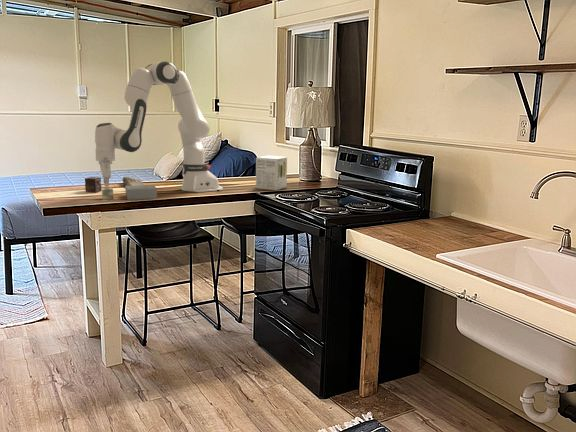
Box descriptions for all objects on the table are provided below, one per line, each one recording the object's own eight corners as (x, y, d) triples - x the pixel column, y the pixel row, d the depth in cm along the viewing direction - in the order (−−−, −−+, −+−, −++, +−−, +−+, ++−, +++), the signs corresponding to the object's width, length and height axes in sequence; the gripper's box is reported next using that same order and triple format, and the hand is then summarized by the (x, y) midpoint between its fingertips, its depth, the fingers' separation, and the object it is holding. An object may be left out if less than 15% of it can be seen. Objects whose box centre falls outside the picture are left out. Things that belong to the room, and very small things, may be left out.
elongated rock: (131, 195, 293) (150, 195, 298) (131, 185, 292) (150, 185, 296) (119, 182, 324) (137, 182, 328) (119, 173, 322) (137, 173, 327)
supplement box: (276, 190, 308) (276, 158, 305) (255, 188, 314) (255, 157, 311) (287, 187, 320) (287, 156, 316) (266, 185, 326) (267, 155, 322)
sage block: (112, 197, 279) (112, 187, 278) (113, 199, 274) (113, 189, 273) (102, 198, 277) (101, 188, 276) (102, 199, 272) (102, 189, 271)
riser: (153, 194, 289) (153, 184, 288) (157, 198, 278) (156, 188, 277) (125, 195, 284) (125, 185, 283) (127, 199, 273) (127, 189, 272)
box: (95, 193, 290) (95, 178, 289) (85, 192, 291) (84, 178, 290) (101, 191, 296) (101, 177, 294) (91, 190, 297) (90, 176, 296)
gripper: (113, 159, 263) (114, 188, 266) (110, 154, 282) (111, 182, 284) (99, 159, 261) (100, 188, 263) (97, 154, 279) (98, 182, 282)
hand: (106, 185), depth 274 cm, fingers open, 8 cm apart
